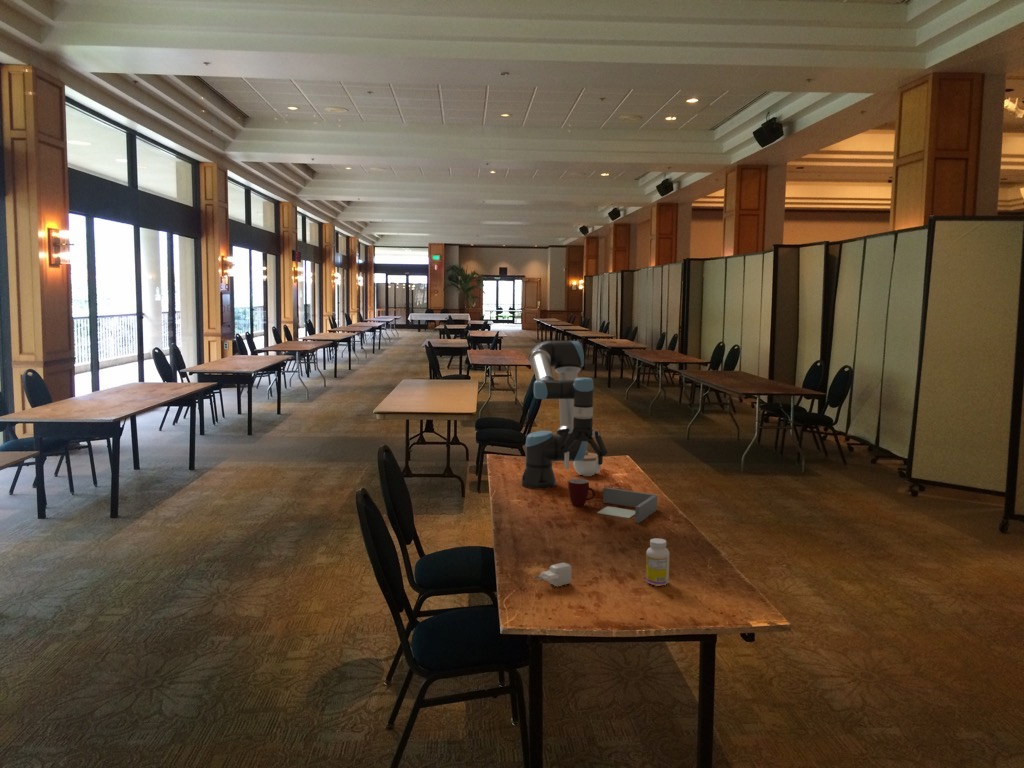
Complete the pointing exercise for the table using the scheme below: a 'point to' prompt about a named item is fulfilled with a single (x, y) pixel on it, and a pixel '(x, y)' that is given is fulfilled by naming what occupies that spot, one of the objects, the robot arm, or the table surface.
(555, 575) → the power adapter
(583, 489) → the mug
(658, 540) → the supplement bottle
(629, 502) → the corner arena
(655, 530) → the table surface
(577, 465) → the white lidded pot
